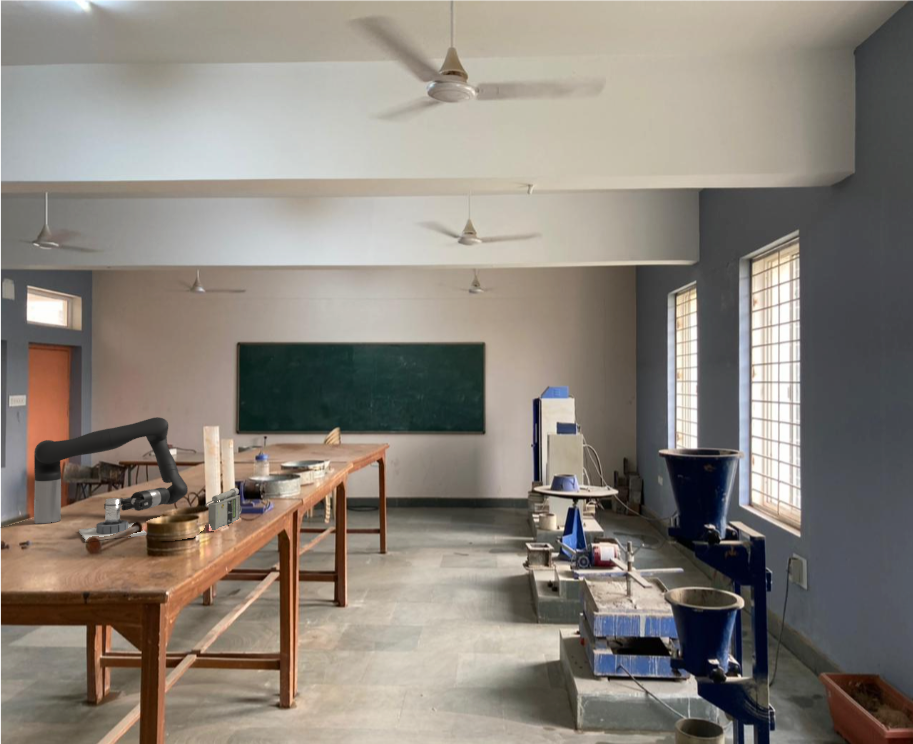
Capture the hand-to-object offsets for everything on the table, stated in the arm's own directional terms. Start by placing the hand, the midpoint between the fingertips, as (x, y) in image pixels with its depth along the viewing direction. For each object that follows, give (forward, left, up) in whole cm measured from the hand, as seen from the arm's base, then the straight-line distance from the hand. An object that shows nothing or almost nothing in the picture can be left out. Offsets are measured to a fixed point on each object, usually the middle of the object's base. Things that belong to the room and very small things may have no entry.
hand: (113, 507), depth 255 cm
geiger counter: (+40, -10, -10) cm, 42 cm away
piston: (0, 0, -9) cm, 9 cm away
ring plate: (0, 0, -10) cm, 10 cm away
